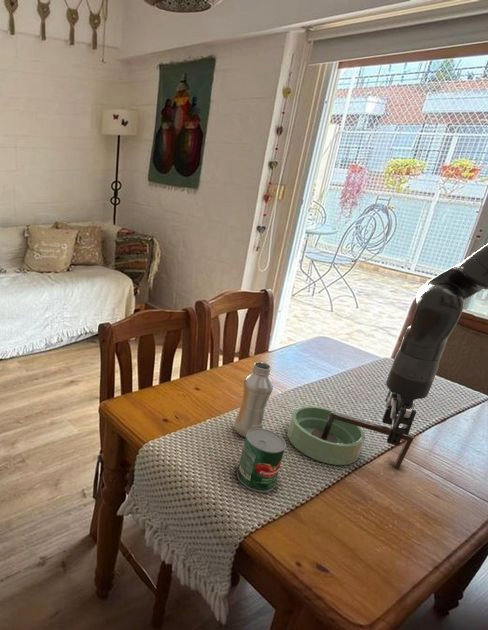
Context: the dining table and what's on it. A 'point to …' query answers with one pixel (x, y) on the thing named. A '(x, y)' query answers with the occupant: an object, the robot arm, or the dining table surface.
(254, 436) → the canned tomato
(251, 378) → the plastic bottle
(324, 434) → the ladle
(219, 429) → the dining table surface
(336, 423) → the bowl
